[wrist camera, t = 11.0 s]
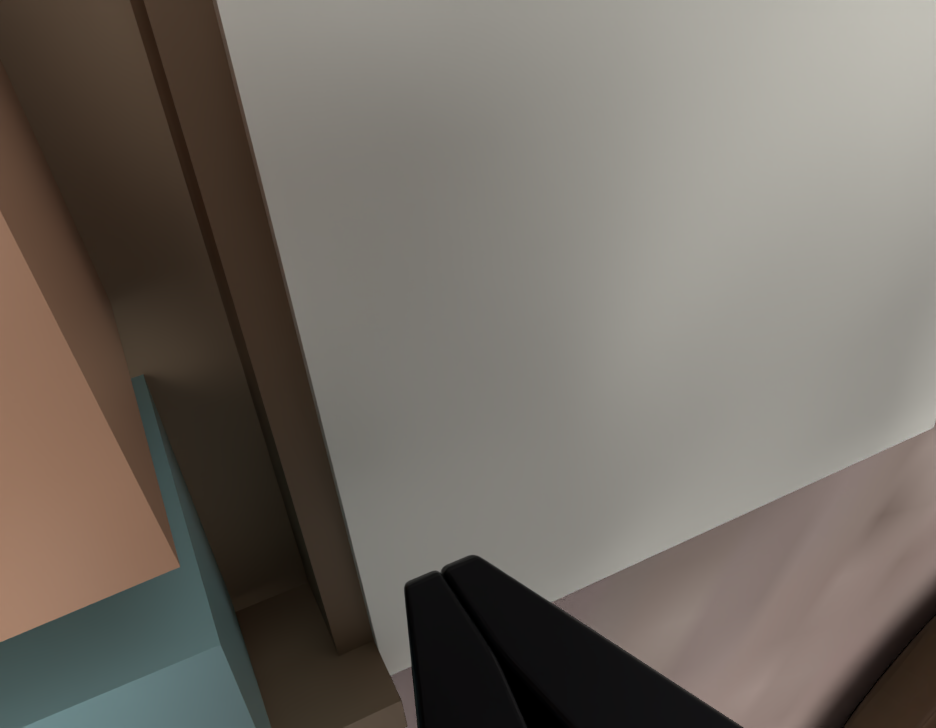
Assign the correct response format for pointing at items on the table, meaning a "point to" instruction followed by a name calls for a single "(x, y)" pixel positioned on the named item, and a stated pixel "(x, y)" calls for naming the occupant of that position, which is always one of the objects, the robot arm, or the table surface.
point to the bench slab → (592, 263)
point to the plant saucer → (904, 689)
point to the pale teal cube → (141, 639)
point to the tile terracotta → (63, 410)
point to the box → (206, 325)
